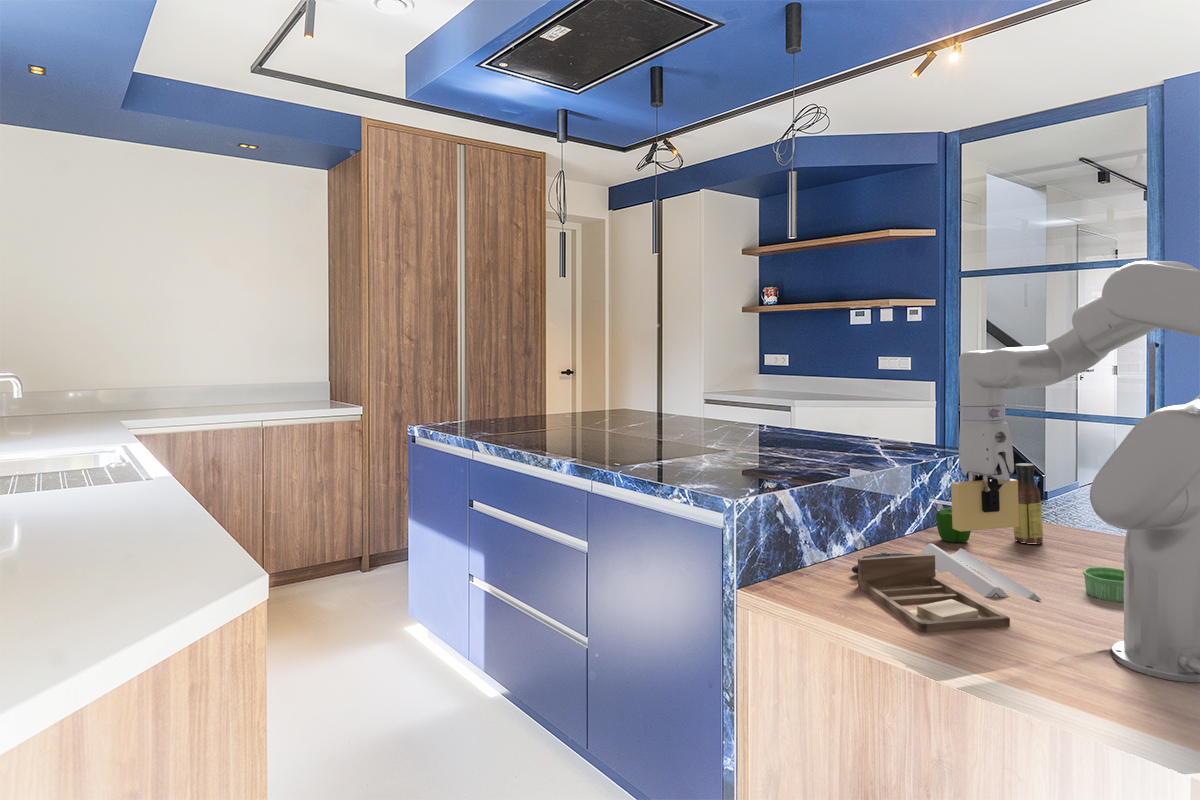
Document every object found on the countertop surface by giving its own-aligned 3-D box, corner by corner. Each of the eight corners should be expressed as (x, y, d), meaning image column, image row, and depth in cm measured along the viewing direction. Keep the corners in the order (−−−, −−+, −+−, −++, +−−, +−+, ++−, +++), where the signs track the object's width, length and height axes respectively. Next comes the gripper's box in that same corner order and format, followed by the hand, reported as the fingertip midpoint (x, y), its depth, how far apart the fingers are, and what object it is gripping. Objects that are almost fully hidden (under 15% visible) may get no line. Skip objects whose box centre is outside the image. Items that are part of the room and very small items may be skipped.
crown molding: (1040, 605, 131) (1040, 586, 131) (976, 606, 132) (976, 588, 132) (965, 557, 162) (965, 542, 162) (914, 558, 163) (914, 543, 163)
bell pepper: (966, 547, 168) (965, 507, 168) (931, 541, 174) (931, 503, 174) (978, 540, 174) (977, 501, 173) (944, 535, 180) (943, 498, 179)
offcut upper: (978, 618, 121) (978, 609, 121) (942, 626, 119) (942, 617, 119) (951, 607, 127) (951, 599, 127) (917, 614, 125) (917, 605, 124)
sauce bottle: (1042, 540, 171) (1042, 462, 170) (1043, 546, 166) (1043, 466, 165) (1012, 537, 175) (1011, 461, 173) (1012, 544, 169) (1011, 465, 168)
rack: (1009, 631, 118) (1009, 592, 117) (921, 638, 117) (920, 598, 116) (932, 586, 142) (931, 553, 141) (858, 591, 141) (857, 558, 140)
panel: (1019, 526, 130) (1017, 480, 129) (960, 531, 129) (958, 484, 128) (1010, 524, 132) (1009, 478, 132) (952, 528, 131) (950, 482, 131)
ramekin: (1099, 603, 129) (1099, 581, 129) (1073, 587, 138) (1073, 566, 138) (1151, 604, 128) (1151, 581, 127) (1121, 588, 137) (1121, 566, 136)
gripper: (1031, 416, 122) (1034, 517, 123) (973, 411, 138) (976, 501, 139) (992, 418, 121) (995, 520, 122) (938, 413, 137) (941, 503, 138)
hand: (985, 509), depth 130 cm, fingers closed on panel, 2 cm apart
